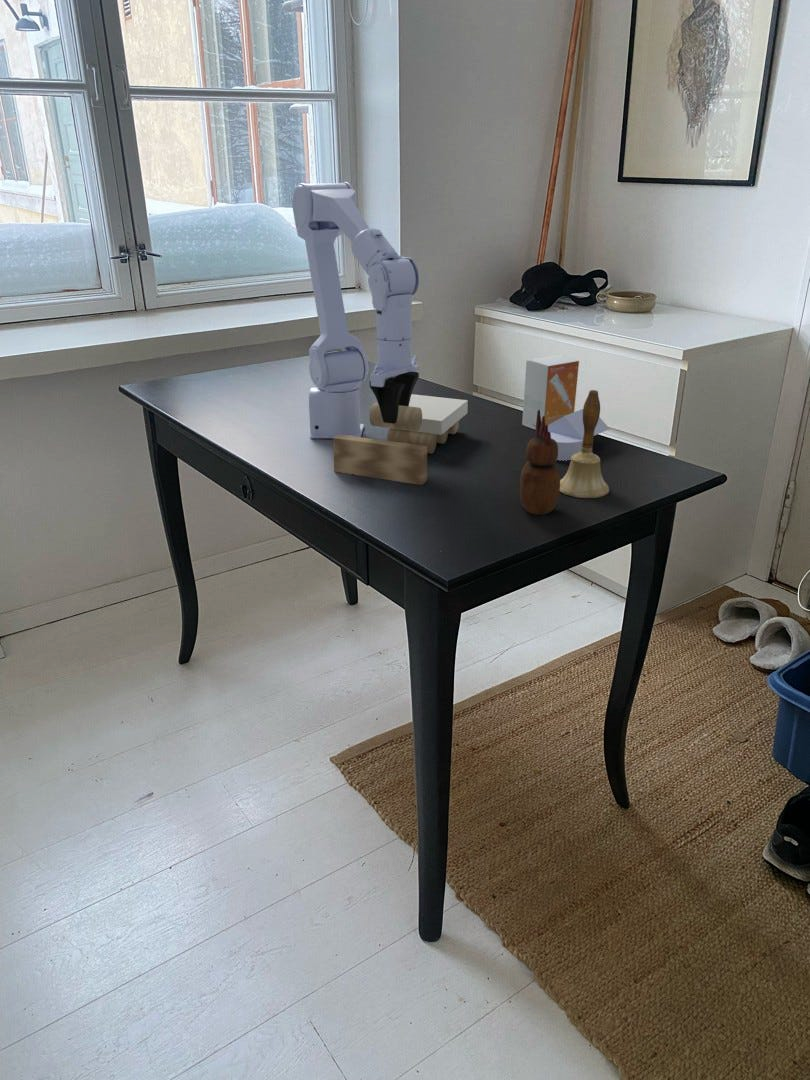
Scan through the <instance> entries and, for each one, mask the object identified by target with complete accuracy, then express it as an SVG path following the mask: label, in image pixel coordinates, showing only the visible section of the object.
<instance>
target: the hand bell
mask: <svg viewBox="0 0 810 1080" xmlns="http://www.w3.org/2000/svg"><path fill="white" fill-rule="evenodd" d="M582 409H583V425H584V436H583V443H582V447H581V451H580V452H579V453H576V454H574V455H573V456H572V458H571V461H569V466H568V469H567V472H566V473H565V475H564V476H563V477H562V478H560V492H559V493H562V494H563V495H566V496H570V497H573V498H580V499H596V498H601V497H604V496H607V494H609V492H610V488H609V485H608V483H606V481H605V480H604V478H603V476H602V472H601V471H602V470H601V458H600V457H599V456H598V455H597V454H595V453H593V447H594V430H595V427H596V425H597V423H598V420H599V417H600V414H601V402H600V397H599V391H598V390H595V389H592V390H589V392H588V394H587V397H586V399H585V401H584V405H583V408H582Z"/></svg>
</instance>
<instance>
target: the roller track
mask: <svg viewBox="0 0 810 1080" xmlns="http://www.w3.org/2000/svg"><path fill="white" fill-rule="evenodd" d="M459 425H460V420H459V421H457V422H456V423H455V424H454V425H453V426H451V427H450V428H449V429H448V430H447V431H445V432H444V433H443V434H442V435H439V434H431V433H423V432H415V431H407V430H400V429H392V428H388V432H387V436H386V441H393V442H400V443H408V444H416V445H423V446H427V454H434V452H435V450H436V447H437V444H441V445H443V444H445V443H446V441H447V439H448V435H449V434H451V435H455V434H456V433H457V431H458V429H459Z"/></svg>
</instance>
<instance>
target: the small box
mask: <svg viewBox="0 0 810 1080" xmlns="http://www.w3.org/2000/svg"><path fill="white" fill-rule="evenodd" d="M579 366H580V361H579V360H578V359H574V358H571V357H567V356H565V355H560V354H555V355H550V356H549V355H548V356H541V357H537V358H531V359H526V362H525V377H524V378H525V379H524V391H523V392H524V393H523V407H522V408H523V409H522V420H521V421H522V422H521V423H522V424H521V425H522V426H523V427H524V426H525V427H527V428H530V429H532V430H535V429H536V420H537V412H538V410H540V417H541V421H542V417H543V416H545V425H549V424H551V423H553V422H555V421H556V420H558V419H560V418H562V417H563V416H566V415H568V414H571V413H573V412H575V409H576V408H575V406H576V397H577V386H578V376H579Z"/></svg>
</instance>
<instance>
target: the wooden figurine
mask: <svg viewBox="0 0 810 1080" xmlns="http://www.w3.org/2000/svg"><path fill="white" fill-rule="evenodd" d="M525 452H526V453H525V457H526V460H527V462H526V463H525V464H524V465H523V467H522V469H521V473H520V479H519V495H520V502H521V506H522V508H523V509H524V510H525V511H526V512H527V513H530V514H532V515H536V516H543V515H547V514H550V513H551V512H553V510H554V509H555V506H556V505H557V502H558V500H559V496H560V493H561V492H560V480H561V476H560V470H559V468H558V467H557V465H556V464H555V462H557V458H558V444H557V442H556V441H555V440H554V439H552V438H551V433H550V432H548V425H545V416H543V417H542V421H541V417H540V410H538V412H537V420H536V429H535V431H534V437H533V438H531V439H530V440H529V441H528V443H527V446H526V451H525Z"/></svg>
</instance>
